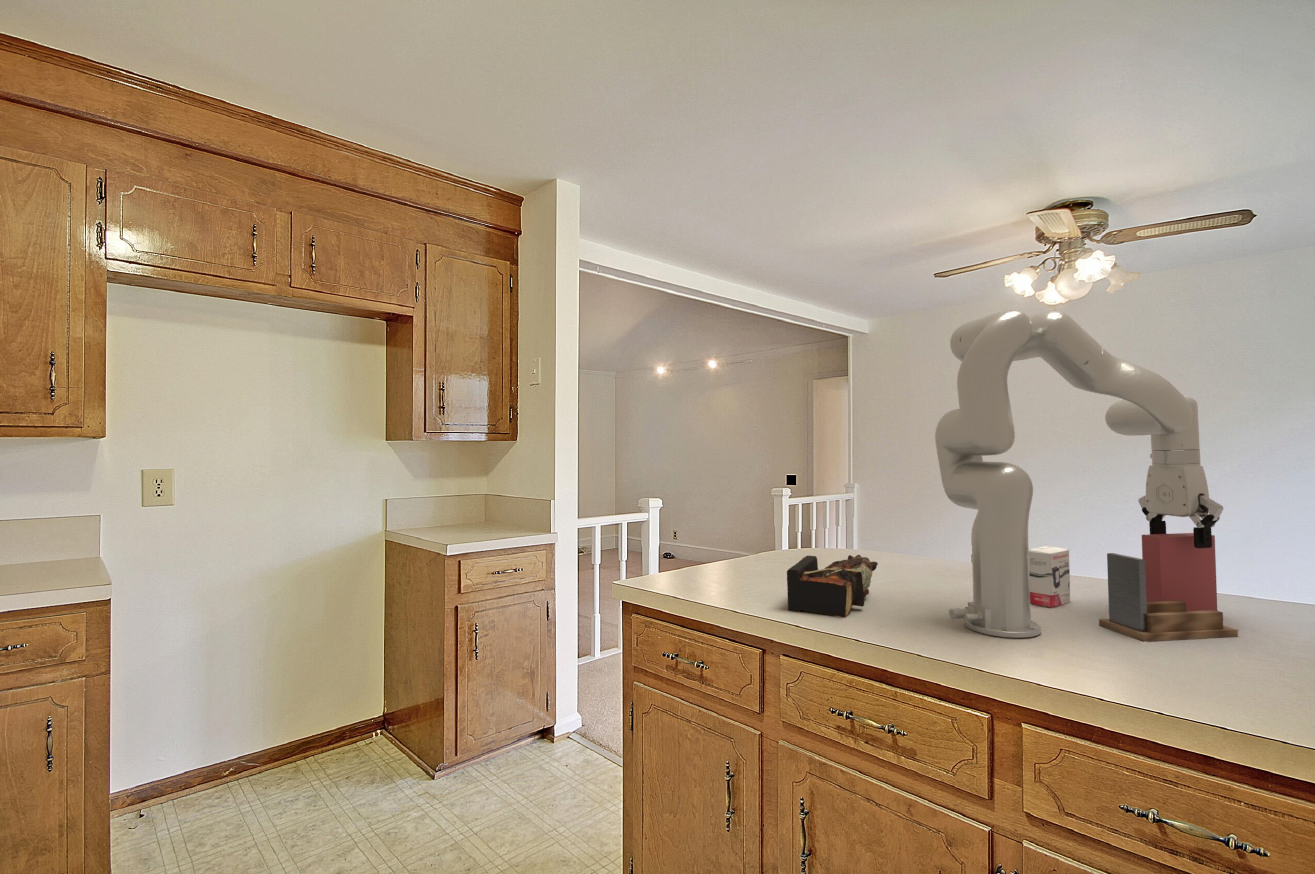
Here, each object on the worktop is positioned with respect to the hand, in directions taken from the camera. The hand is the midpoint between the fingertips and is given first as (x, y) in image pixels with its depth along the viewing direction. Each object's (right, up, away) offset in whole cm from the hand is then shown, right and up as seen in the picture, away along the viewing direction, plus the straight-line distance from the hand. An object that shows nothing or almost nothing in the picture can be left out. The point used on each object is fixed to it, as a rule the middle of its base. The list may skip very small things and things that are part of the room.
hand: (1179, 543), depth 125 cm
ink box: (-19, -15, +11) cm, 27 cm away
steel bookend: (-19, -14, -11) cm, 26 cm away
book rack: (-11, -14, -10) cm, 21 cm away
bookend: (-65, -16, +16) cm, 68 cm away
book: (0, -14, 0) cm, 14 cm away
